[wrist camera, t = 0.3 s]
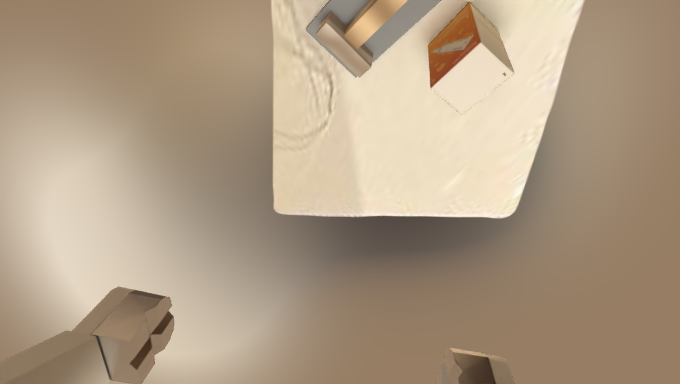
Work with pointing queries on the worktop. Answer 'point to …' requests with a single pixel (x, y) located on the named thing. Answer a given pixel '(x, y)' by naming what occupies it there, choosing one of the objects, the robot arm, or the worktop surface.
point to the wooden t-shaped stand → (356, 33)
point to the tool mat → (349, 4)
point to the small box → (467, 60)
